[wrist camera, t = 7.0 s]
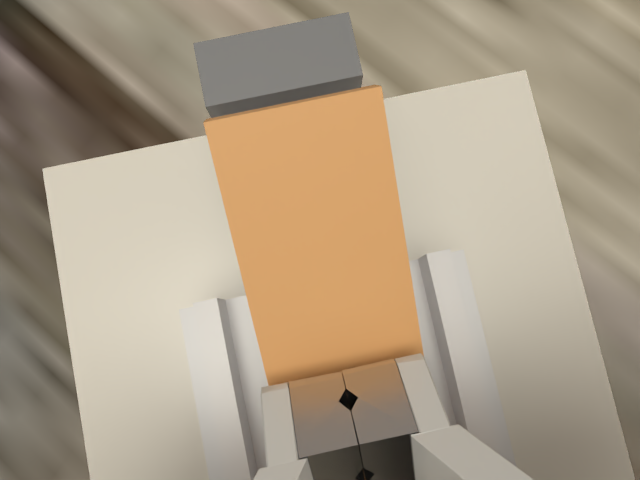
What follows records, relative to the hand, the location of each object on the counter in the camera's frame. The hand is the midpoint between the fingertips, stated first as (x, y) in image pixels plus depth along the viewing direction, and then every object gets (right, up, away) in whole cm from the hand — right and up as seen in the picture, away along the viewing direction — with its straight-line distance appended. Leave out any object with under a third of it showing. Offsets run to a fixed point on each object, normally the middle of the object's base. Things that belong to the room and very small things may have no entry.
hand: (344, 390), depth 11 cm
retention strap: (+1, -3, +2) cm, 4 cm away
